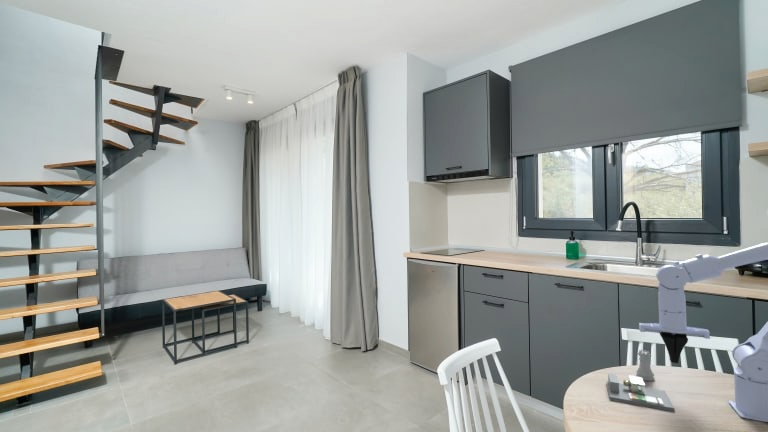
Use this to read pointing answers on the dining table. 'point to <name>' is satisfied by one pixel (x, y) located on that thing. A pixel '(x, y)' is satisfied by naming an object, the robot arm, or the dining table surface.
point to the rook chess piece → (645, 366)
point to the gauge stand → (638, 395)
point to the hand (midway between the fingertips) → (674, 361)
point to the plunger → (635, 384)
